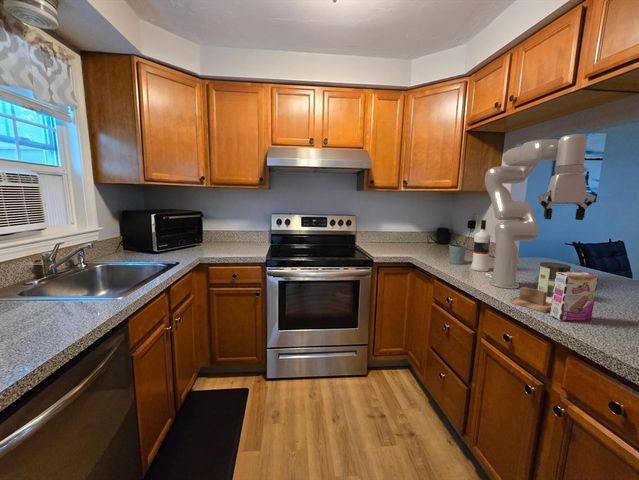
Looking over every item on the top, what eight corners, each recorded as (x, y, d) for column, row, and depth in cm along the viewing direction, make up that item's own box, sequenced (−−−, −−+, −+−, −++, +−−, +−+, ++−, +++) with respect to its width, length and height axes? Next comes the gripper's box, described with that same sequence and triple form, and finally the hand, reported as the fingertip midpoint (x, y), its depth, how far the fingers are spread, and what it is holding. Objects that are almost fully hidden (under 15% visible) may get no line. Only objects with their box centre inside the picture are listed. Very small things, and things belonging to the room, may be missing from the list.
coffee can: (571, 297, 122) (575, 265, 120) (560, 301, 117) (564, 268, 115) (543, 290, 131) (546, 261, 129) (531, 294, 126) (535, 263, 124)
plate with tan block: (510, 302, 115) (511, 287, 114) (519, 299, 119) (520, 284, 118) (545, 312, 105) (547, 295, 104) (554, 308, 109) (556, 292, 108)
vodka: (474, 267, 175) (478, 219, 171) (491, 270, 168) (495, 220, 164) (468, 269, 170) (471, 219, 165) (484, 272, 162) (489, 220, 158)
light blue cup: (461, 262, 191) (462, 244, 190) (467, 265, 181) (469, 247, 180) (445, 261, 192) (447, 244, 190) (451, 265, 182) (452, 246, 181)
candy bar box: (561, 322, 97) (567, 275, 95) (549, 316, 102) (554, 271, 100) (592, 321, 97) (599, 275, 95) (579, 315, 102) (585, 271, 100)
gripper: (590, 172, 102) (584, 219, 104) (535, 173, 106) (530, 218, 108) (606, 169, 94) (599, 220, 97) (546, 170, 99) (541, 219, 101)
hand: (563, 219), depth 102 cm, fingers open, 9 cm apart
